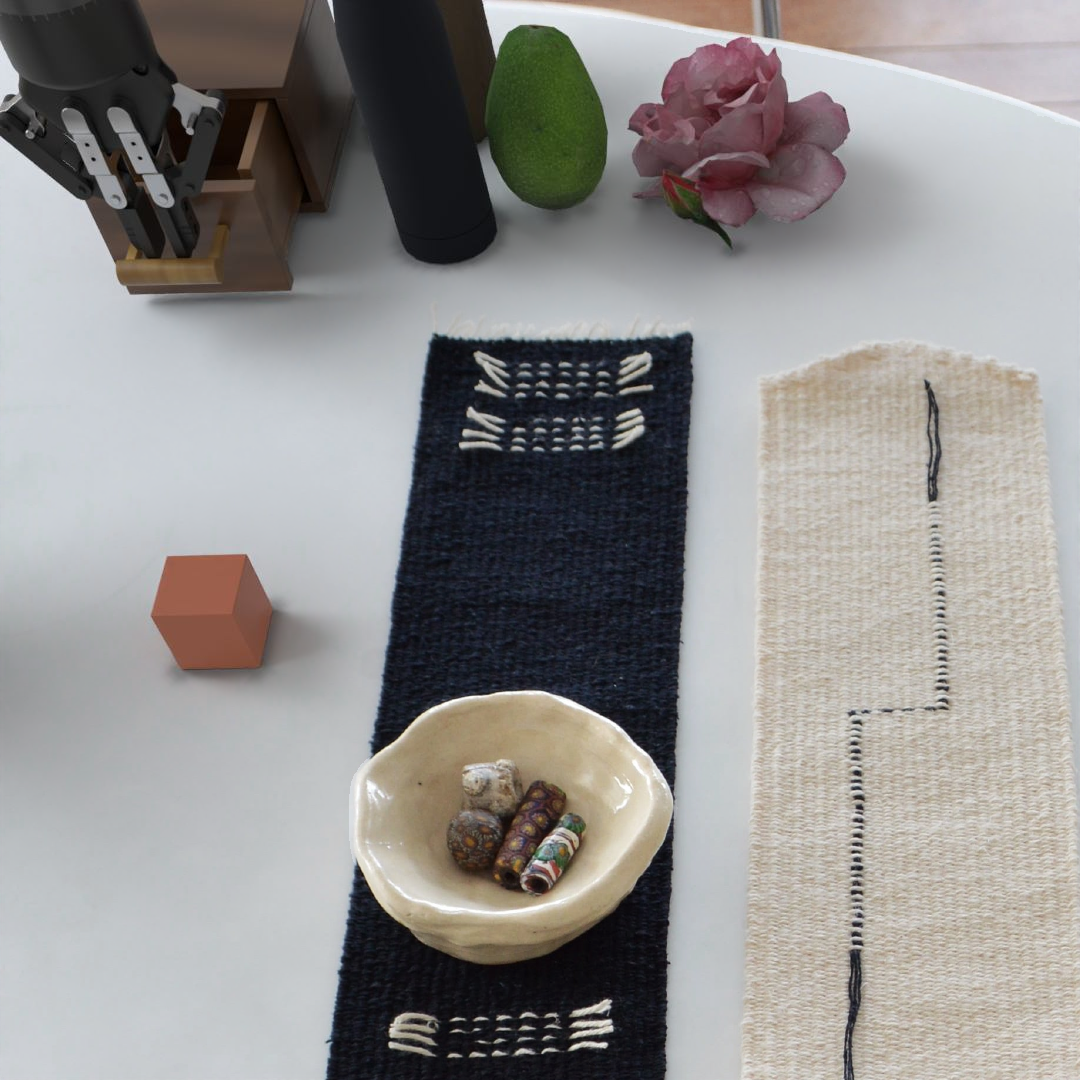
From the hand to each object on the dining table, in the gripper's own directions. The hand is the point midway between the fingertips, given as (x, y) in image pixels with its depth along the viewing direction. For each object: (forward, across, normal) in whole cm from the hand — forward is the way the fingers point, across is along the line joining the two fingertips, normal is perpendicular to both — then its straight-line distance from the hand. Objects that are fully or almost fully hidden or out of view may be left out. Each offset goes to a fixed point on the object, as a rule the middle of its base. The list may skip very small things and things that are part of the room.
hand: (171, 249), depth 107 cm
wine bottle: (+6, -14, -9) cm, 18 cm away
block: (+6, -6, +26) cm, 27 cm away
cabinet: (+6, 0, -18) cm, 19 cm away
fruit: (+6, -22, -13) cm, 26 cm away
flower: (+6, -34, -11) cm, 36 cm away
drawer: (+5, 0, -6) cm, 8 cm away
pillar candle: (+6, -12, -22) cm, 26 cm away
